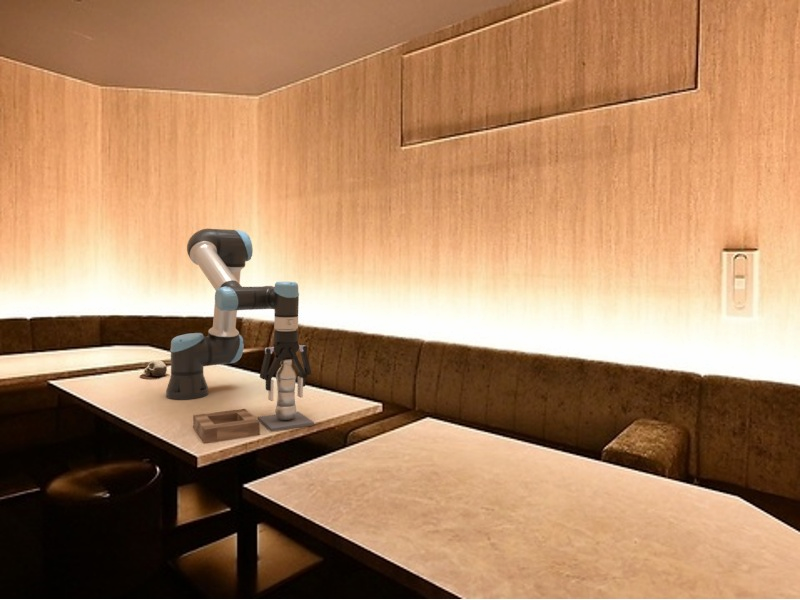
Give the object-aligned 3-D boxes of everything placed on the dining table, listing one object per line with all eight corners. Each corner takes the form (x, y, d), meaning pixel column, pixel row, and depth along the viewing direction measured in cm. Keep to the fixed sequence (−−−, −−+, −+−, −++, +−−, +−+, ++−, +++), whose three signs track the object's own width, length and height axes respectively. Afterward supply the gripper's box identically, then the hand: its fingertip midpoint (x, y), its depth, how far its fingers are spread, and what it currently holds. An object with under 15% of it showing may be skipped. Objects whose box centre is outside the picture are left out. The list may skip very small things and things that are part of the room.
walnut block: (193, 427, 166) (193, 415, 165) (244, 420, 174) (244, 408, 174) (204, 443, 152) (204, 429, 152) (259, 434, 161) (259, 421, 160)
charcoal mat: (257, 419, 175) (257, 416, 175) (298, 414, 183) (298, 411, 183) (271, 431, 164) (271, 428, 163) (313, 425, 171) (314, 422, 171)
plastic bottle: (291, 423, 169) (292, 361, 168) (271, 421, 171) (272, 359, 169) (299, 417, 176) (300, 357, 174) (280, 415, 177) (281, 356, 175)
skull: (131, 376, 230) (142, 356, 237) (145, 388, 238) (155, 368, 244) (155, 377, 227) (165, 357, 234) (167, 389, 235) (177, 369, 241)
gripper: (256, 332, 162) (255, 405, 164) (322, 329, 174) (321, 397, 175) (249, 329, 168) (248, 399, 170) (313, 326, 180) (312, 392, 182)
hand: (285, 398), depth 173 cm, fingers open, 9 cm apart
